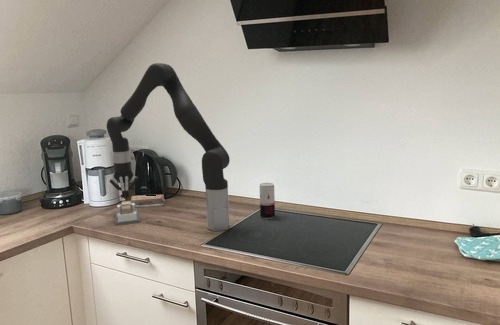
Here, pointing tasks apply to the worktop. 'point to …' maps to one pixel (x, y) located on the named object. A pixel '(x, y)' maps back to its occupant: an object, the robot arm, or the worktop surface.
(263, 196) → the beverage can
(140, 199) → the packaged product
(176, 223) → the worktop surface
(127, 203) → the slat
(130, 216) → the board
